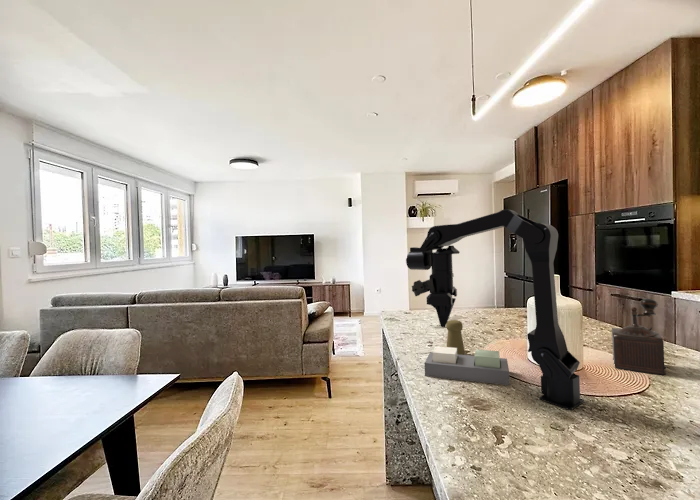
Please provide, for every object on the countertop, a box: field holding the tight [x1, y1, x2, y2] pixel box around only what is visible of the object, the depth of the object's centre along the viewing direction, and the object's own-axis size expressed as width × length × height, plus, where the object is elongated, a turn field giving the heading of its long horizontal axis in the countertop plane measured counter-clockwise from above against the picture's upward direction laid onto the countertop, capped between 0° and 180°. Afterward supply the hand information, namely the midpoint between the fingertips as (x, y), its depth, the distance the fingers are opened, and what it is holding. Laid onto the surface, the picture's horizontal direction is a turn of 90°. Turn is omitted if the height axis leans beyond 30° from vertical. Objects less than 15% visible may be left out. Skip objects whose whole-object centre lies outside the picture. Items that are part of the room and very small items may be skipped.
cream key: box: [432, 345, 457, 364], centre depth 93 cm, size 6×6×3 cm
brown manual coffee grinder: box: [611, 298, 667, 376], centre depth 93 cm, size 16×11×18 cm
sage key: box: [474, 349, 501, 368], centre depth 89 cm, size 6×6×3 cm
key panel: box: [424, 351, 511, 386], centre depth 91 cm, size 21×10×4 cm, turn 67°
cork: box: [445, 319, 466, 355], centre depth 108 cm, size 6×6×11 cm
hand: (443, 325), depth 93 cm, fingers open, 4 cm apart
